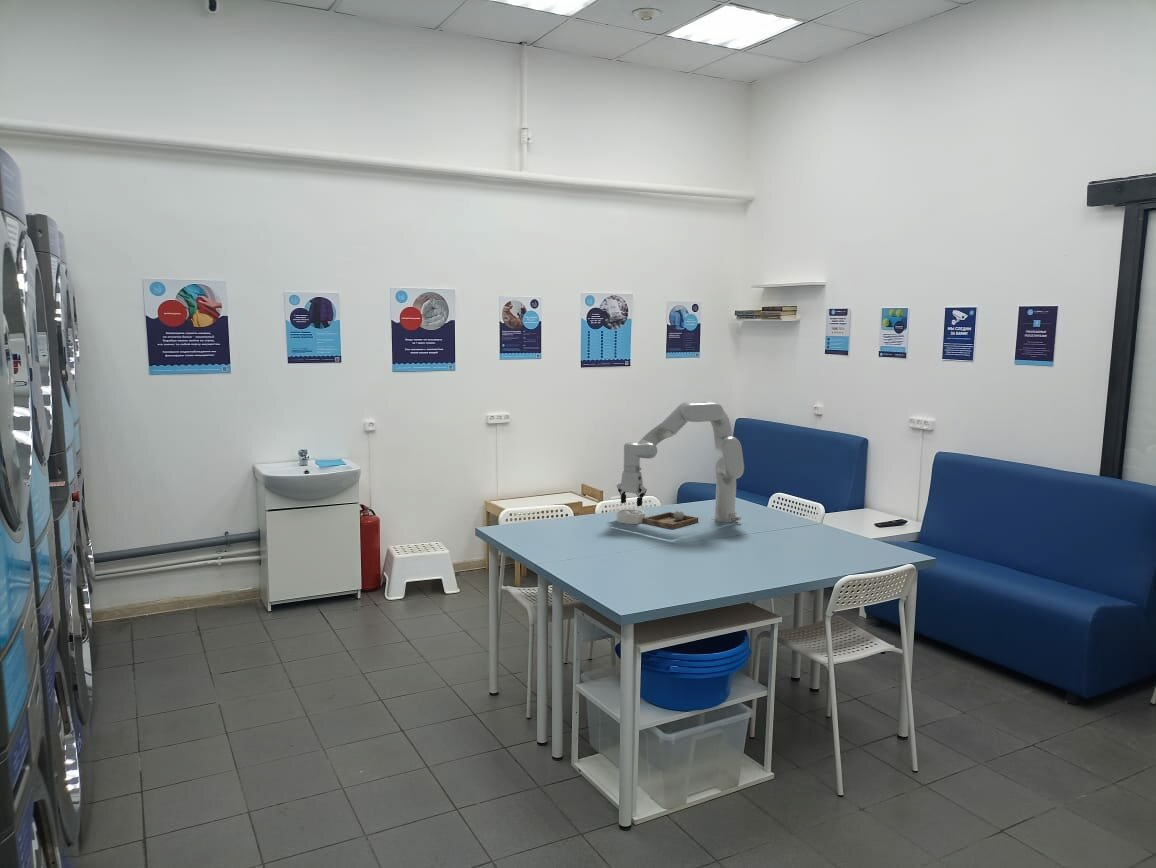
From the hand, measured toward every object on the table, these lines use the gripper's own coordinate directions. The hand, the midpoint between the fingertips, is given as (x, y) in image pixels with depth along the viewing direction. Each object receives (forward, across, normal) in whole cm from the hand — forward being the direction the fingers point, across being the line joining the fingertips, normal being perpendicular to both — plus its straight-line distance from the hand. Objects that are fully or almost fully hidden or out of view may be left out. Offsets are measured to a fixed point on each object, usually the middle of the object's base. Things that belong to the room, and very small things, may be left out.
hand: (631, 504), depth 384 cm
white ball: (+7, 0, -2) cm, 8 cm away
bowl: (+9, +1, 0) cm, 9 cm away
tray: (+9, -15, -11) cm, 21 cm away
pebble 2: (+8, -15, -18) cm, 25 cm away
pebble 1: (+6, 0, 0) cm, 7 cm away
